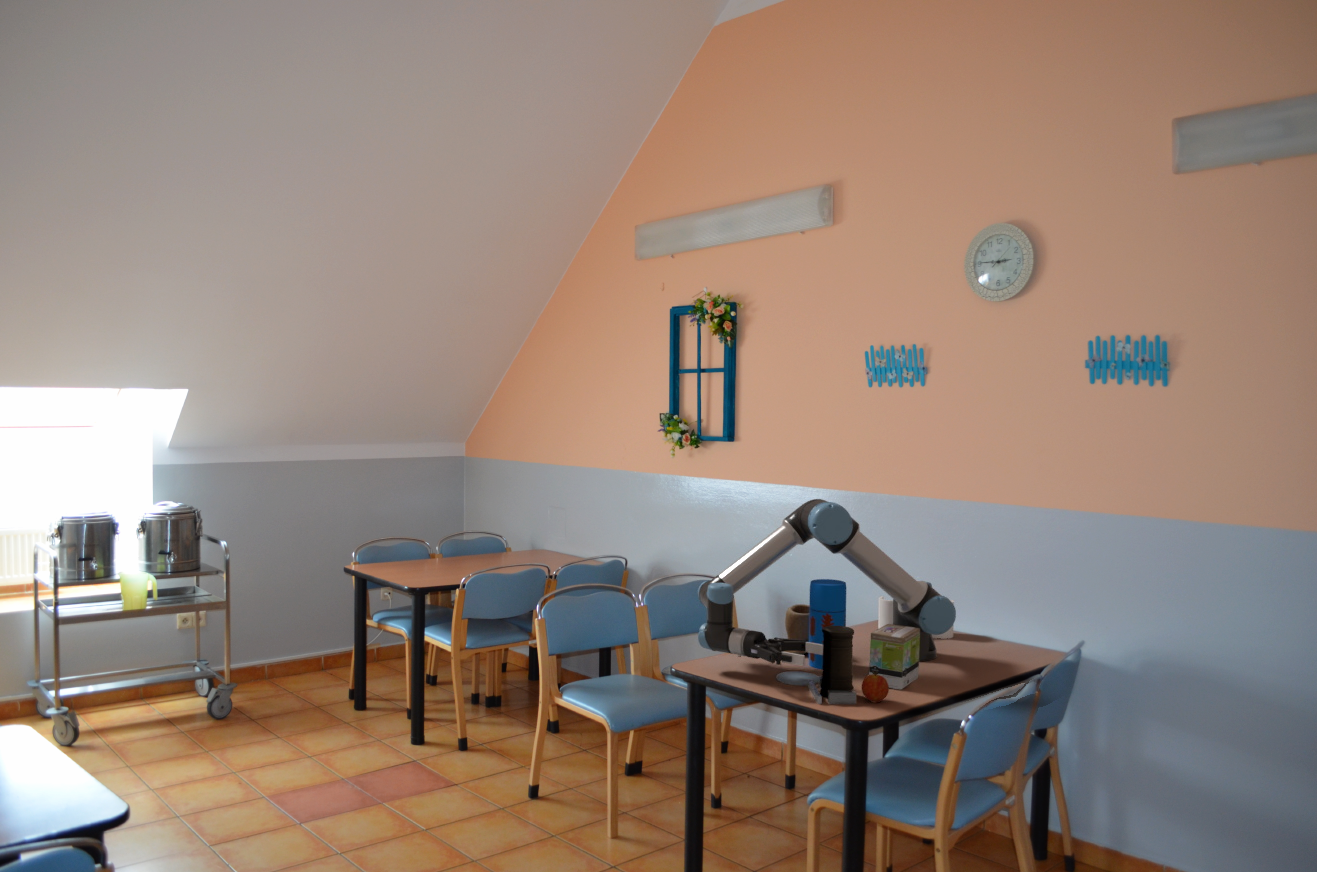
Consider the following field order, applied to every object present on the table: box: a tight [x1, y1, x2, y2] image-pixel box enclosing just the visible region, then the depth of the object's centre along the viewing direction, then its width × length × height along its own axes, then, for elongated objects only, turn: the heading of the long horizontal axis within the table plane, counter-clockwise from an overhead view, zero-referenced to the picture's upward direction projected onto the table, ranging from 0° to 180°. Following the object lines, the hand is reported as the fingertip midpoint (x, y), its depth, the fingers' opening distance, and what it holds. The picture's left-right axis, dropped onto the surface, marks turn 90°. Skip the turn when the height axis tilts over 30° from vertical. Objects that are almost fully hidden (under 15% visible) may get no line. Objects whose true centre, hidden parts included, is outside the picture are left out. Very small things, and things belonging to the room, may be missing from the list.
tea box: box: [868, 624, 920, 691], centre depth 268 cm, size 15×10×15 cm, turn 148°
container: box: [819, 626, 855, 700], centre depth 253 cm, size 9×9×18 cm
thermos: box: [808, 578, 847, 671], centre depth 283 cm, size 11×11×25 cm
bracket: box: [877, 595, 955, 640], centre depth 325 cm, size 25×10×12 cm, turn 84°
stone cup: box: [780, 603, 809, 655], centre depth 298 cm, size 15×12×15 cm
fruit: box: [861, 671, 890, 703], centre depth 249 cm, size 7×7×8 cm
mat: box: [776, 670, 819, 687], centre depth 269 cm, size 12×12×1 cm
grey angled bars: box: [807, 675, 857, 705], centre depth 254 cm, size 10×15×3 cm, turn 1°
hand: (816, 655), depth 257 cm, fingers open, 13 cm apart
